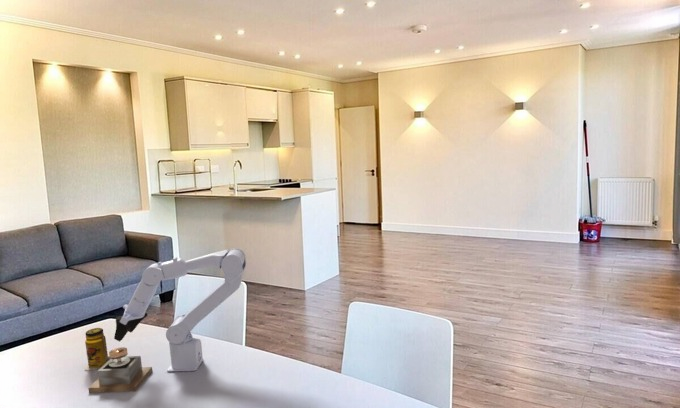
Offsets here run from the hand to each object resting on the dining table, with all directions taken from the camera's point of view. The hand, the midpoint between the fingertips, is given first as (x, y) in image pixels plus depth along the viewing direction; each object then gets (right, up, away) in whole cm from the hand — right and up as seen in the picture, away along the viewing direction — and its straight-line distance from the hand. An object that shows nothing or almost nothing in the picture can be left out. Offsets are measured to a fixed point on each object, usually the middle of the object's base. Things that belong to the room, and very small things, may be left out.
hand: (123, 335), depth 152 cm
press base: (+2, -13, -6) cm, 14 cm away
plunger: (+2, -7, -7) cm, 9 cm away
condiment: (-11, -12, +8) cm, 18 cm away
